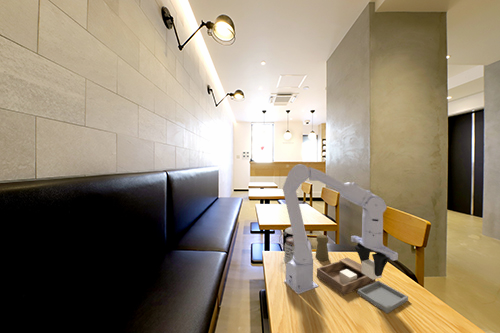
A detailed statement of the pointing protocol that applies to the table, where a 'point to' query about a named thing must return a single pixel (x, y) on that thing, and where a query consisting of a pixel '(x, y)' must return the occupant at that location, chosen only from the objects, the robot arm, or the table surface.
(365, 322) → the table surface
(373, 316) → the table surface
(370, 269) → the cube
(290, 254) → the french press
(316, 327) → the table surface
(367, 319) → the table surface
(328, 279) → the walnut box
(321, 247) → the cork
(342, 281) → the cube
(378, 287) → the slate dish
